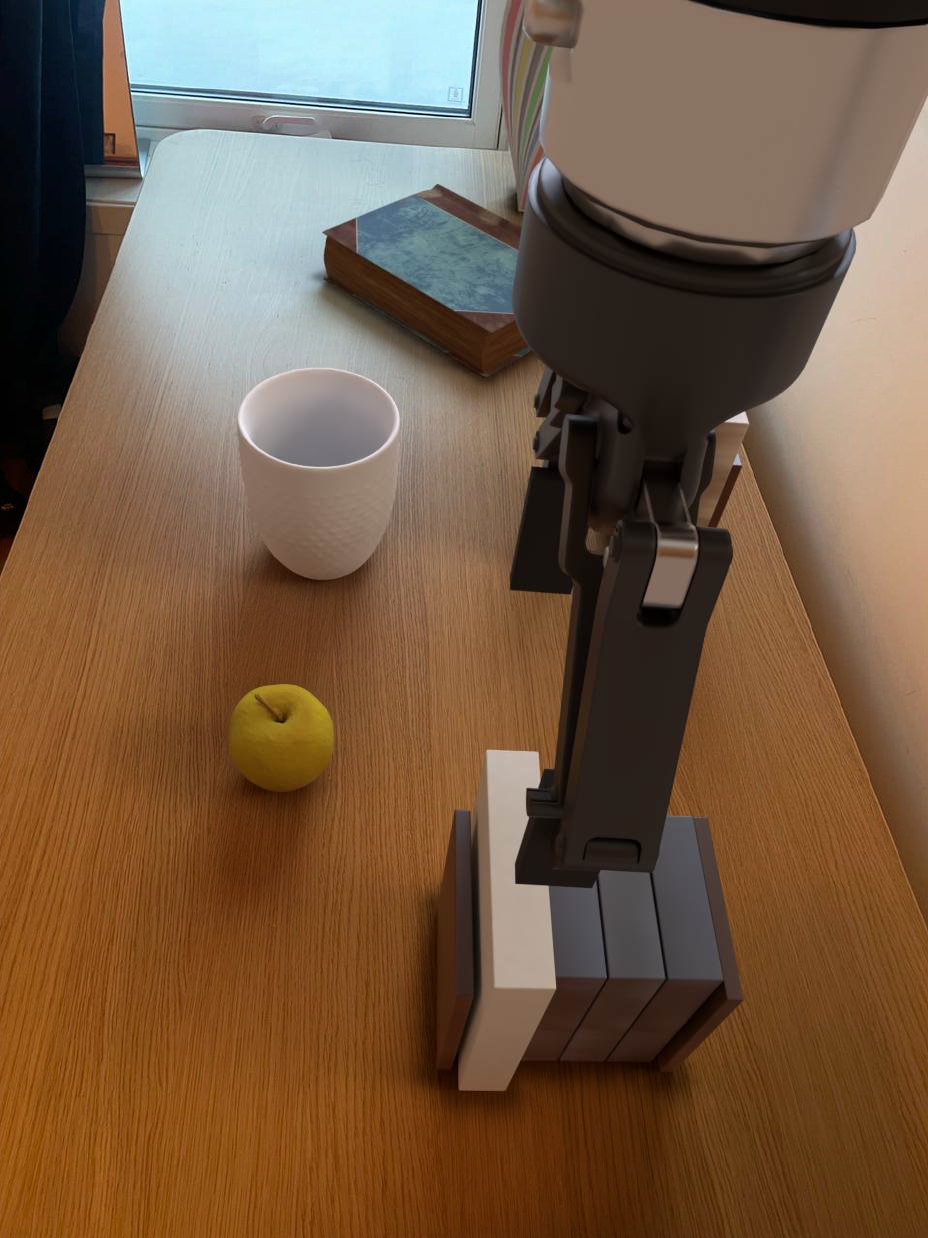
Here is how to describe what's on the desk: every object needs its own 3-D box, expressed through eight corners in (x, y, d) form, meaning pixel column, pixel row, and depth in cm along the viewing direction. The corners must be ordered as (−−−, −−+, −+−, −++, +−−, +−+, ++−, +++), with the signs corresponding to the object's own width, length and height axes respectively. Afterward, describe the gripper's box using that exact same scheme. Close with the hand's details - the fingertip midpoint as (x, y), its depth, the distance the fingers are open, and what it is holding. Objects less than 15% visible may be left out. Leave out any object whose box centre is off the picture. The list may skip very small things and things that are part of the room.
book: (594, 313, 98) (604, 269, 94) (484, 379, 89) (490, 333, 85) (436, 225, 107) (439, 182, 103) (320, 277, 98) (319, 232, 94)
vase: (482, 226, 108) (518, -93, 85) (480, 171, 116) (512, -131, 93) (598, 236, 109) (665, -76, 86) (588, 181, 117) (645, -115, 94)
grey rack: (650, 911, 56) (714, 807, 47) (673, 1072, 51) (752, 992, 41) (437, 906, 55) (456, 798, 45) (436, 1070, 50) (458, 987, 40)
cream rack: (675, 498, 81) (734, 337, 68) (695, 585, 74) (763, 424, 62) (539, 490, 80) (574, 325, 67) (548, 577, 73) (587, 412, 61)
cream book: (498, 891, 56) (538, 751, 44) (505, 1091, 49) (556, 990, 37) (456, 890, 56) (485, 749, 44) (458, 1091, 49) (493, 988, 37)
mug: (328, 457, 80) (325, 322, 70) (442, 506, 77) (456, 373, 67) (221, 566, 71) (200, 429, 61) (346, 625, 68) (345, 492, 58)
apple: (224, 744, 61) (210, 671, 55) (320, 719, 63) (316, 646, 57) (246, 829, 57) (233, 761, 51) (347, 800, 59) (346, 731, 53)
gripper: (520, -23, 29) (458, 491, 45) (557, 585, 13) (440, 1042, 29) (760, 5, 29) (612, 504, 45) (1088, 626, 13) (679, 1053, 29)
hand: (545, 714), depth 37 cm, fingers open, 13 cm apart
